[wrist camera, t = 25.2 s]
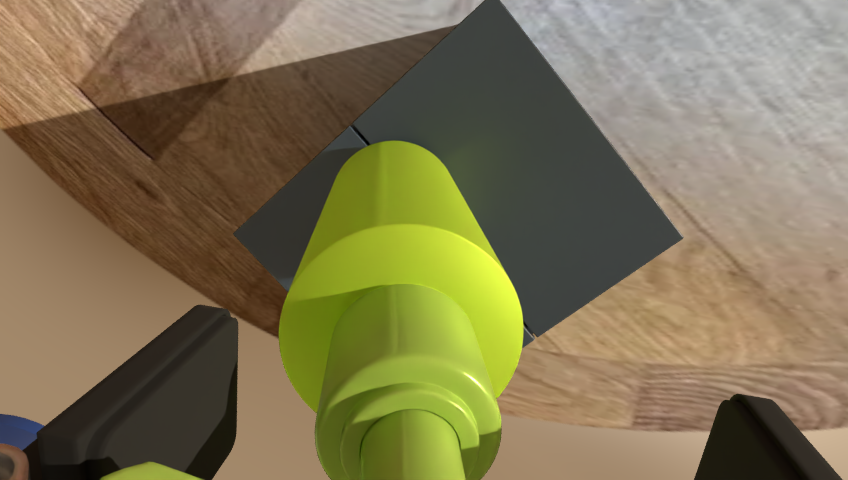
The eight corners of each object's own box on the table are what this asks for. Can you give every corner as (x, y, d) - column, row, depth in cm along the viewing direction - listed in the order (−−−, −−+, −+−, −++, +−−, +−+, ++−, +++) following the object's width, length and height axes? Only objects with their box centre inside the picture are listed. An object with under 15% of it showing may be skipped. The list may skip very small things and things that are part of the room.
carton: (432, 330, 40) (411, 424, 29) (303, 188, 38) (230, 234, 27) (626, 187, 35) (686, 237, 25) (492, 16, 33) (494, -11, 23)
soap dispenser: (325, 117, 24) (95, 342, 5) (472, 160, 25) (752, 482, 6) (296, 239, 25) (40, 757, 7) (435, 274, 27) (560, 808, 8)
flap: (412, 418, 30) (411, 423, 29) (235, 231, 28) (232, 234, 27) (534, 336, 27) (535, 339, 27) (351, 124, 25) (349, 125, 25)
